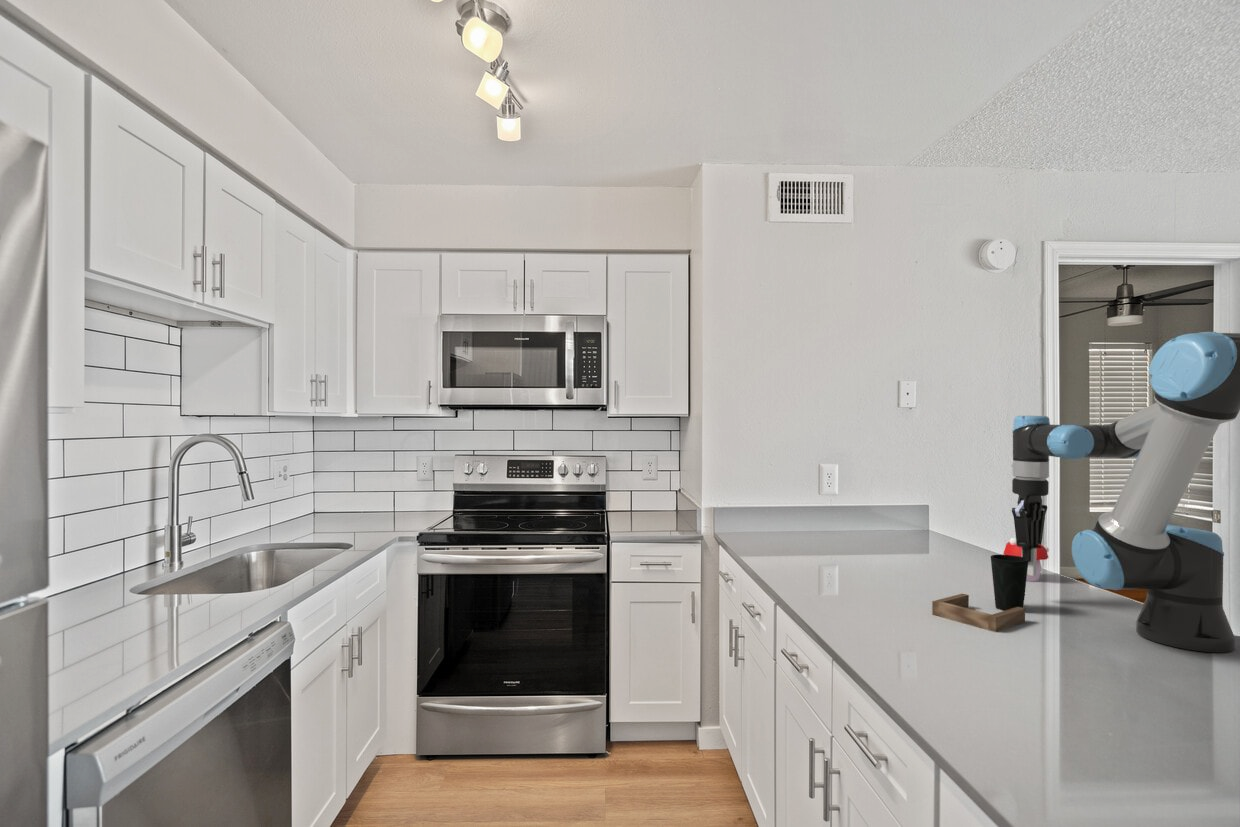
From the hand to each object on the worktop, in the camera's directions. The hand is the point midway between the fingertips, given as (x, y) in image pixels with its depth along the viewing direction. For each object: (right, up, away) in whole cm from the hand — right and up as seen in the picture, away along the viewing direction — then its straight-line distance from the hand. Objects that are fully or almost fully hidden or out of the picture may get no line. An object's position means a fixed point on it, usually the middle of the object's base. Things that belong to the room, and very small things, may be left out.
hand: (1028, 574), depth 158 cm
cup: (-8, -7, -6) cm, 12 cm away
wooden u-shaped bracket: (-19, -7, -13) cm, 24 cm away
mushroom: (+14, -7, +23) cm, 27 cm away
